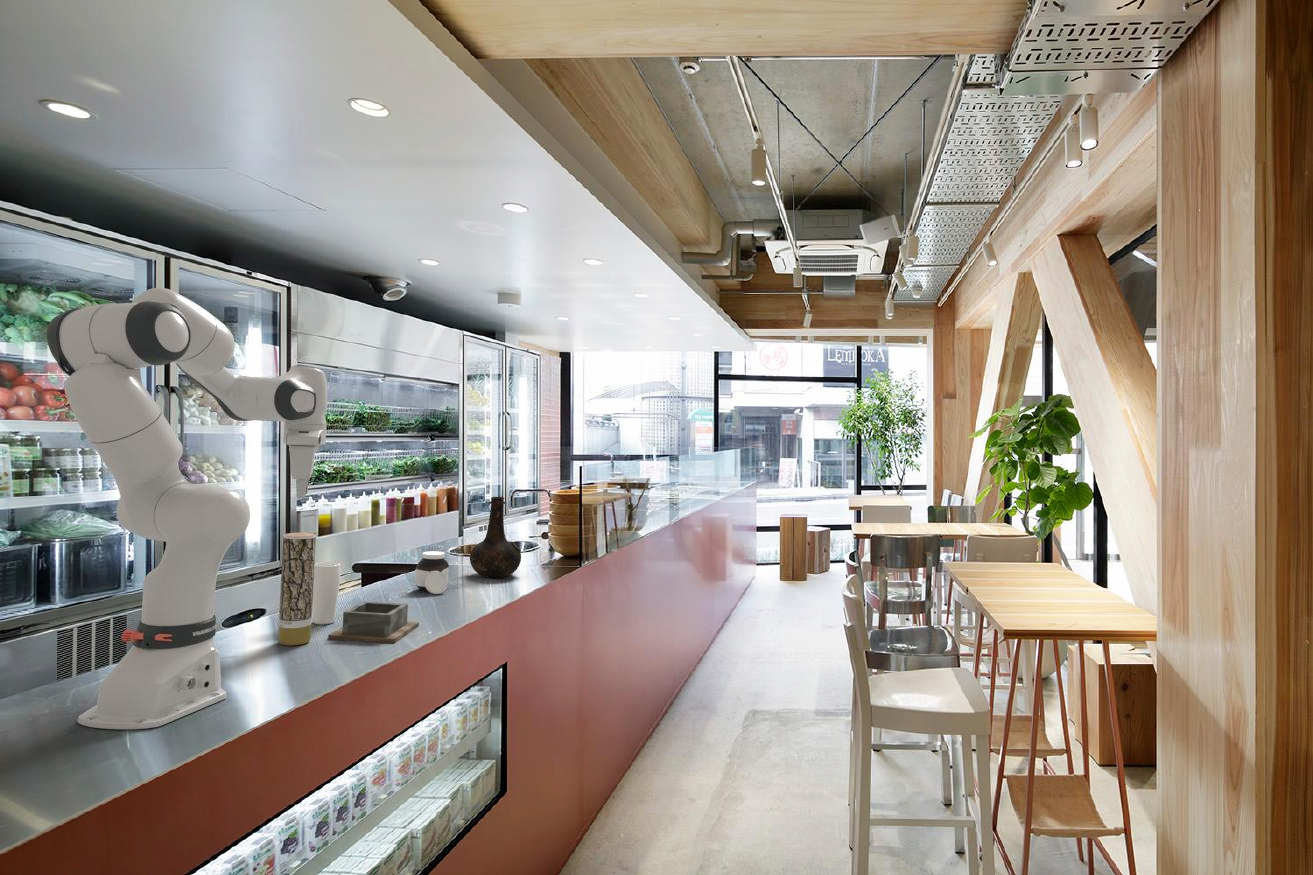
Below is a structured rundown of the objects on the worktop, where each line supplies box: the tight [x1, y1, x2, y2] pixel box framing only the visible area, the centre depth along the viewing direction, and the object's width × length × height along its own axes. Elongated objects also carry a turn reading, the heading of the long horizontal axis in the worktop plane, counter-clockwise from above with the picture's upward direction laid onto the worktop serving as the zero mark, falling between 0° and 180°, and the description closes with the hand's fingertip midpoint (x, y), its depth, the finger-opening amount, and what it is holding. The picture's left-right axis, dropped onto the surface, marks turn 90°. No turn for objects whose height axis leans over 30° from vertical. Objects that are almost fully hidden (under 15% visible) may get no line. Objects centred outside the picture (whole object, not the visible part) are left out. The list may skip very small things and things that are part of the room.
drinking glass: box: [312, 561, 342, 626], centre depth 187 cm, size 7×7×15 cm
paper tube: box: [277, 532, 317, 647], centre depth 169 cm, size 7×7×25 cm
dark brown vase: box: [469, 496, 522, 579], centre depth 258 cm, size 18×18×28 cm
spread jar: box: [414, 550, 450, 595], centre depth 229 cm, size 12×11×12 cm
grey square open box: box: [327, 601, 420, 644], centre depth 180 cm, size 16×16×6 cm
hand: (302, 496), depth 169 cm, fingers open, 8 cm apart
